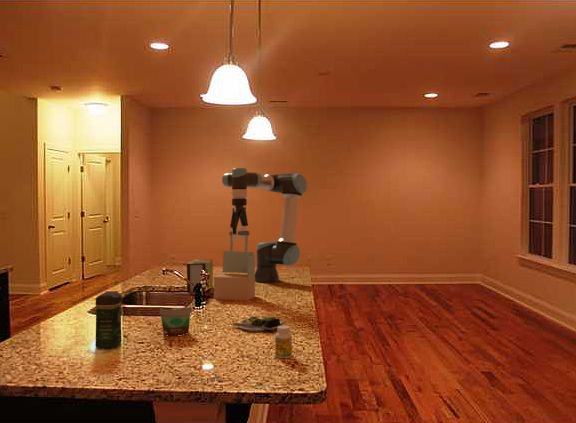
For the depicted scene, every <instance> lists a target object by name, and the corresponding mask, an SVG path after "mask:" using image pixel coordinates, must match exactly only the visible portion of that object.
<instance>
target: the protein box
mask: <svg viewBox="0 0 576 423" xmlns="http://www.w3.org/2000/svg"><path fill="white" fill-rule="evenodd" d="M213 267H214V260H213V259H193V260H191V261H189V262H187V263H186V280H187V279H188V280H189V281H190V282H191V283H192V284H196V283H198V282H201V277H200V270H204V271H207V272H209V275H210V287H211V289H212V288H214V269H213ZM192 284H189V283H188V282H187V281H186V292H187V293H194V292H193V285H192Z"/></svg>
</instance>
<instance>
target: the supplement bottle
mask: <svg viewBox="0 0 576 423" xmlns="http://www.w3.org/2000/svg"><path fill="white" fill-rule="evenodd" d="M292 337H293V335H292V333H291V332H290V326H289V325H282V326H278V327H277V331H276V333H275V335H274V340H275V342H274V343H275V344H274V346H275V347H274V351H275V354H274V355H275V357H276V358H277V357H278V359H281V358H285V359H290V358H291V357H292V356H293V344H292V343H293V338H292Z"/></svg>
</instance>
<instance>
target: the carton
mask: <svg viewBox="0 0 576 423" xmlns="http://www.w3.org/2000/svg"><path fill="white" fill-rule="evenodd" d="M255 272H256V256H255V254H254V255H253V256H251V257H248V258H247V273H226V272H222V273H220V274H217V275H215V276H214V275H213V299H214V298H215V300H231V301H248V302H249V301H250V300H251V299H253V298H254V297H256V281H255Z"/></svg>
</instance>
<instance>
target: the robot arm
mask: <svg viewBox="0 0 576 423" xmlns="http://www.w3.org/2000/svg"><path fill="white" fill-rule="evenodd" d="M221 183H222V185H223V187H224V186H225V187H228V188H231V197H232V198H231V205H232V214H231V221H230V226H229V227H230V229H231V230H232V241H233V242H238V241H239V235H238V231H239V228H238V226H239V225H238V224H239V221H240V224H241V225H240V231H247V227H248V226H249V223H248V217H247V208H246V206H247V205H248V202H247V201H248V200H247V197H248V195H247V194H248V189H260V190H261V189H262V190H264V191H266V192H272V193H279V194H281V196H282V197H283V199H284V200H283V208H282V217H281V226H280V235H279V239H278V240H277V241H266V242H259V243H257V245H256V251H255V252H256V268H255V283H256V282H257V283H276V282H279V281H280V275H279V273H278V269H277V265H281V266H294V265H295V264H296V263H297V262H298V261H299V259H300V254H301V251H300V247H299V246H298V243H297V241H296V240H295V239H296V237H295V236H296V232H297V231H296V230H297V221H298V220H297V219H298V211H299V201H300V199H301V198H302V196H303V194H305V193H306V191H307V190H308V183H307V180H306V176H304V175H303V174H301V173H297V172H296V173H295V172H293V173H278V174H276V173H275V174H265V175H261V174H260V173H258V172H253V171H252V172H250V171H248V169H247V168H246V167H233V168H232V171H231V172H228V173H227V172H226V173H224V174H222V177H221ZM247 188H248V189H247ZM233 206H235V207H233ZM240 238H241V239H245V235H240Z"/></svg>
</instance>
